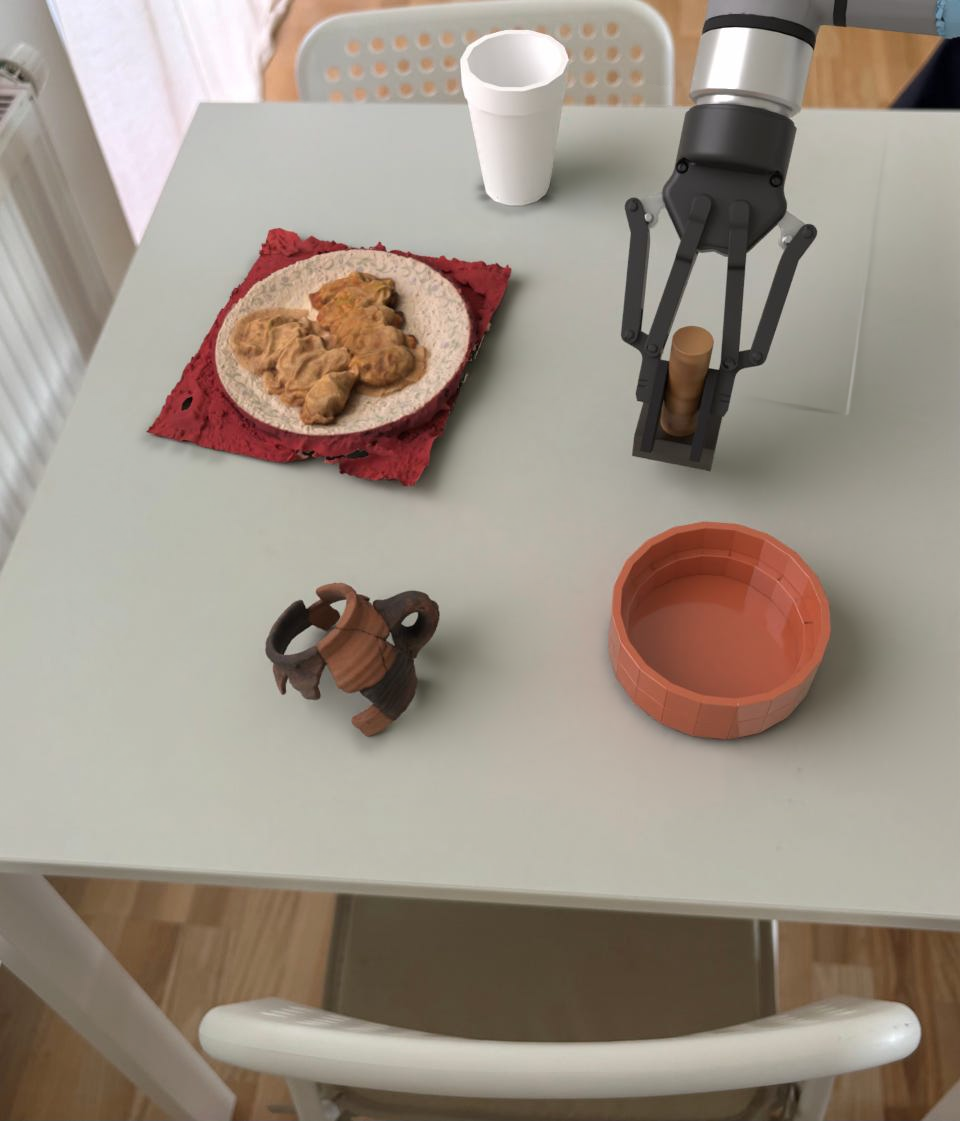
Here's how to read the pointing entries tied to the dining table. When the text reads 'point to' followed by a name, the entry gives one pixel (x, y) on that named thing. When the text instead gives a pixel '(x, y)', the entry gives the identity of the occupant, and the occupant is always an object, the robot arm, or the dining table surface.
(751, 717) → the bowl
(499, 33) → the foam cup
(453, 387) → the plate with food
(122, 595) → the dining table surface
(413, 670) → the pottery mug
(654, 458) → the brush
